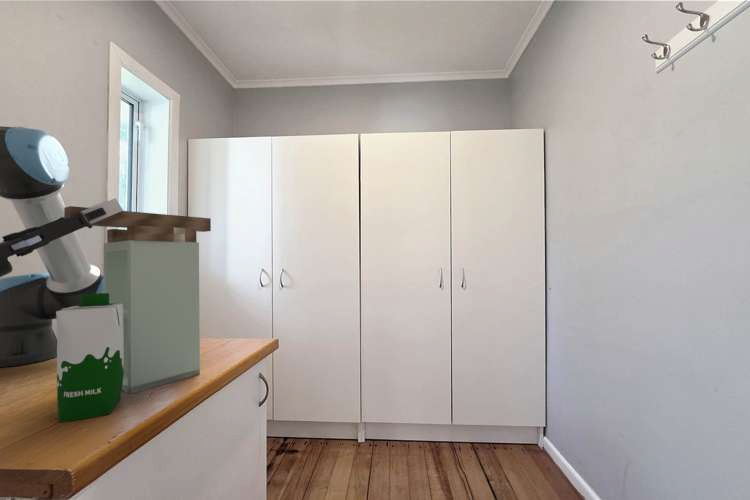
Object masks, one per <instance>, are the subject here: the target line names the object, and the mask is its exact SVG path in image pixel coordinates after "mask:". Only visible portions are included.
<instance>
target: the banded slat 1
mask: <svg viewBox="0 0 750 500" xmlns="http://www.w3.org/2000/svg"><path fill="white" fill-rule="evenodd" d="M121 241H127V229H121V228H119V229H118V228H110V229H106V243H112V242H121Z"/></svg>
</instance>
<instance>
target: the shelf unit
mask: <svg viewBox="0 0 750 500" xmlns="http://www.w3.org/2000/svg"><path fill="white" fill-rule="evenodd" d="M103 276H104V293H109V304H113V303H115V304H123V330H124V374H123V384H122V392H126V393H129V394H130V395H131V394H135V393H138V392H141V391H145V390H149V389H151V388H155V387H159V386H163V385H167V384H169V383H173V382H176V381H180V380H185V379H187V378H191V377H194V376H198V375H200V374H201V373H200V372H201V371H200V370H201V369H200V367H201V365H200V364H201V363H200V360H201V358H200V356H201V340H200V339H201V337H200V335H201V334H200V333H201V332H200V333H199V326H200V243H199V242H198V241H196V242H166V241H134V240H130V241H121V242H112V243H107V242H103Z"/></svg>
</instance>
